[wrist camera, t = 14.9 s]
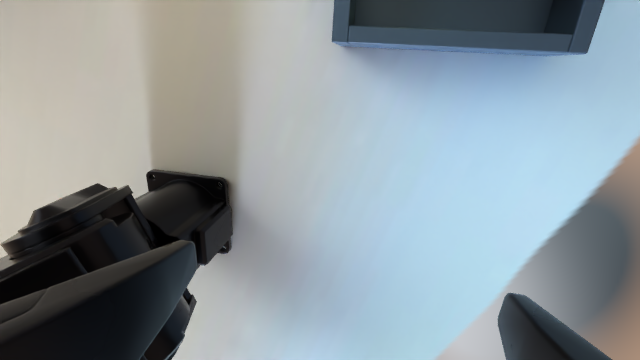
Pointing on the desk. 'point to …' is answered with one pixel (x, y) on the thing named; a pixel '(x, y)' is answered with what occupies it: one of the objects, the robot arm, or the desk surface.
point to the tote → (469, 25)
